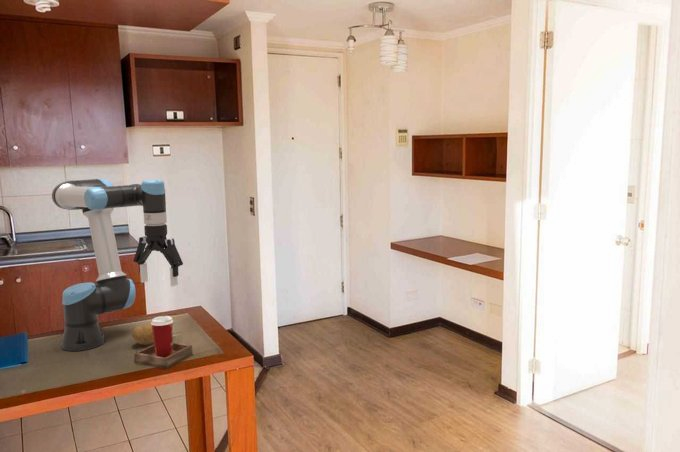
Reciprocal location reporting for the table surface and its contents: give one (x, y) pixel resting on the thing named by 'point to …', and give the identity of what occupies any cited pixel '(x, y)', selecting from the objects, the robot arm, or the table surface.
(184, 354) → the tray
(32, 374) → the table surface
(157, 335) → the paper cup
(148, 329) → the potato
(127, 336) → the table surface
